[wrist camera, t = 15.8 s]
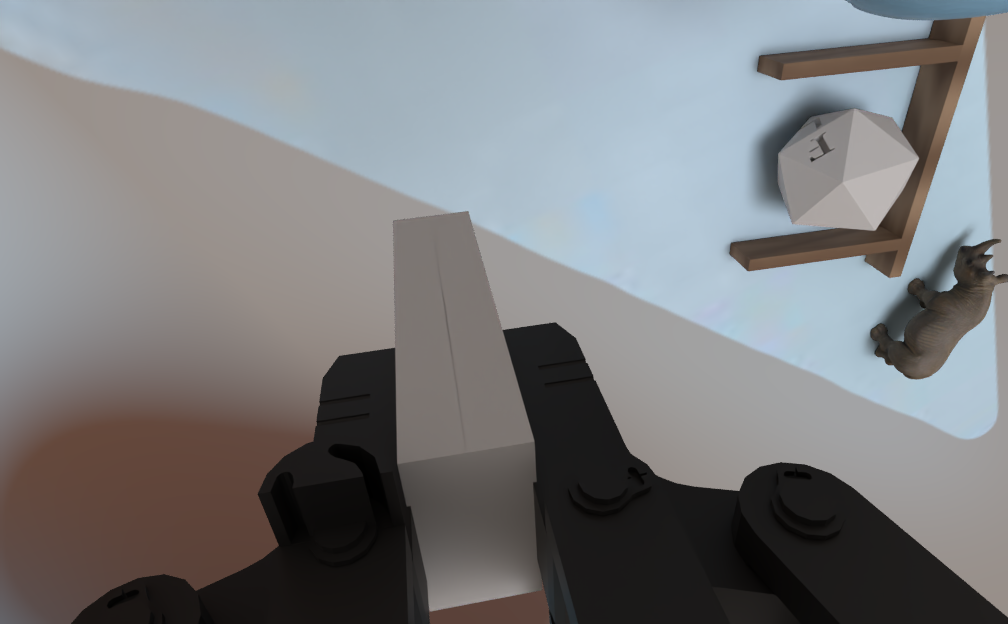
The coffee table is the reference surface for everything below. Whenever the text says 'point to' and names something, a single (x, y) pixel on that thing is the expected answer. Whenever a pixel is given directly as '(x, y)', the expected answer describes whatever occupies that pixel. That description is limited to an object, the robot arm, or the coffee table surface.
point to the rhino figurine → (942, 316)
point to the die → (844, 170)
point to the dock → (923, 129)
